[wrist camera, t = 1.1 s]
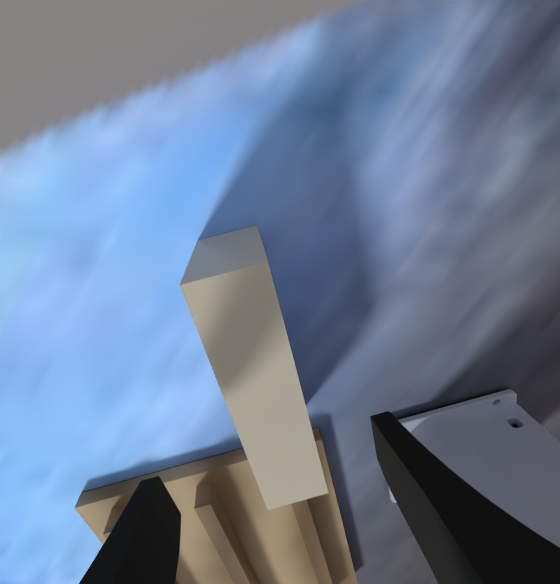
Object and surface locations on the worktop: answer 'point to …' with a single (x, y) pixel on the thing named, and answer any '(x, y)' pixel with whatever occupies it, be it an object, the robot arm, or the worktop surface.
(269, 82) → the worktop surface
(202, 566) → the ridged tan board
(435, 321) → the worktop surface
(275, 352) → the cream rectangular block
